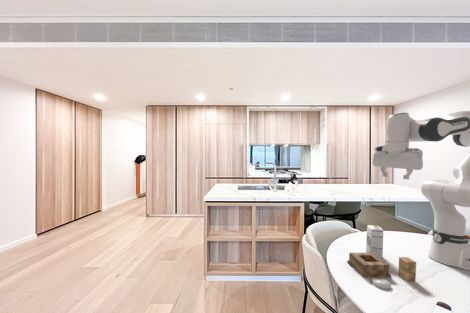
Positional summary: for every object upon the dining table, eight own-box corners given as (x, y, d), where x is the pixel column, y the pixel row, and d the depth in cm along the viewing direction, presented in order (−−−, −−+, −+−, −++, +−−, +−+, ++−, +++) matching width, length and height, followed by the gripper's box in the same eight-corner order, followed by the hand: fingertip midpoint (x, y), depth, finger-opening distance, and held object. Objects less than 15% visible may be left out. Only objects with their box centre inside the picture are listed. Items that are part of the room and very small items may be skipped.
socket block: (371, 262, 105) (372, 252, 105) (391, 277, 93) (391, 265, 93) (347, 262, 104) (347, 252, 104) (363, 277, 92) (363, 265, 92)
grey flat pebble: (382, 280, 91) (383, 277, 91) (394, 290, 85) (394, 286, 85) (368, 280, 90) (368, 277, 90) (379, 290, 84) (379, 286, 84)
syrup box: (383, 258, 109) (384, 229, 108) (369, 257, 110) (371, 228, 109) (378, 253, 114) (379, 225, 114) (365, 252, 116) (366, 224, 115)
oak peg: (407, 275, 94) (408, 257, 94) (415, 281, 90) (416, 262, 90) (398, 275, 94) (399, 257, 94) (406, 281, 90) (406, 262, 90)
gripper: (427, 148, 94) (425, 180, 94) (379, 148, 113) (378, 175, 113) (418, 148, 91) (416, 181, 92) (371, 147, 110) (370, 175, 111)
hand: (395, 177), depth 103 cm, fingers open, 8 cm apart
